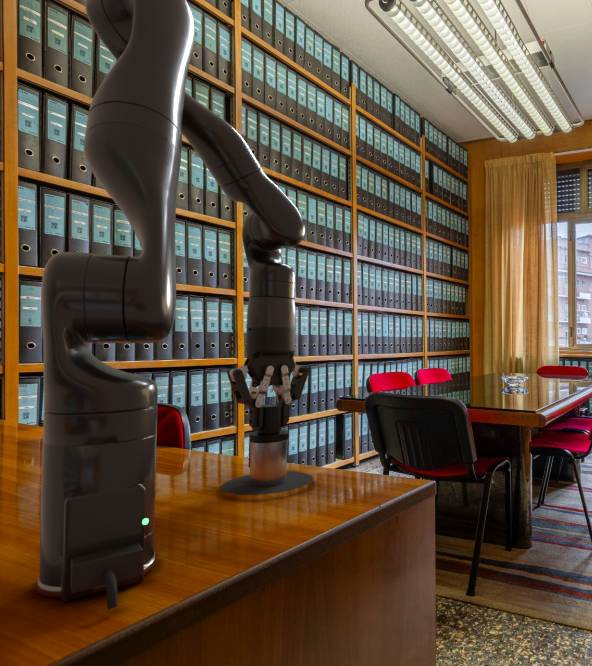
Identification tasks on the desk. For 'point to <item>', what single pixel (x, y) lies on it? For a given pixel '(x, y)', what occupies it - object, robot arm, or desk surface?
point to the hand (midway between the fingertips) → (269, 427)
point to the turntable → (244, 487)
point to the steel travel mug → (268, 450)
